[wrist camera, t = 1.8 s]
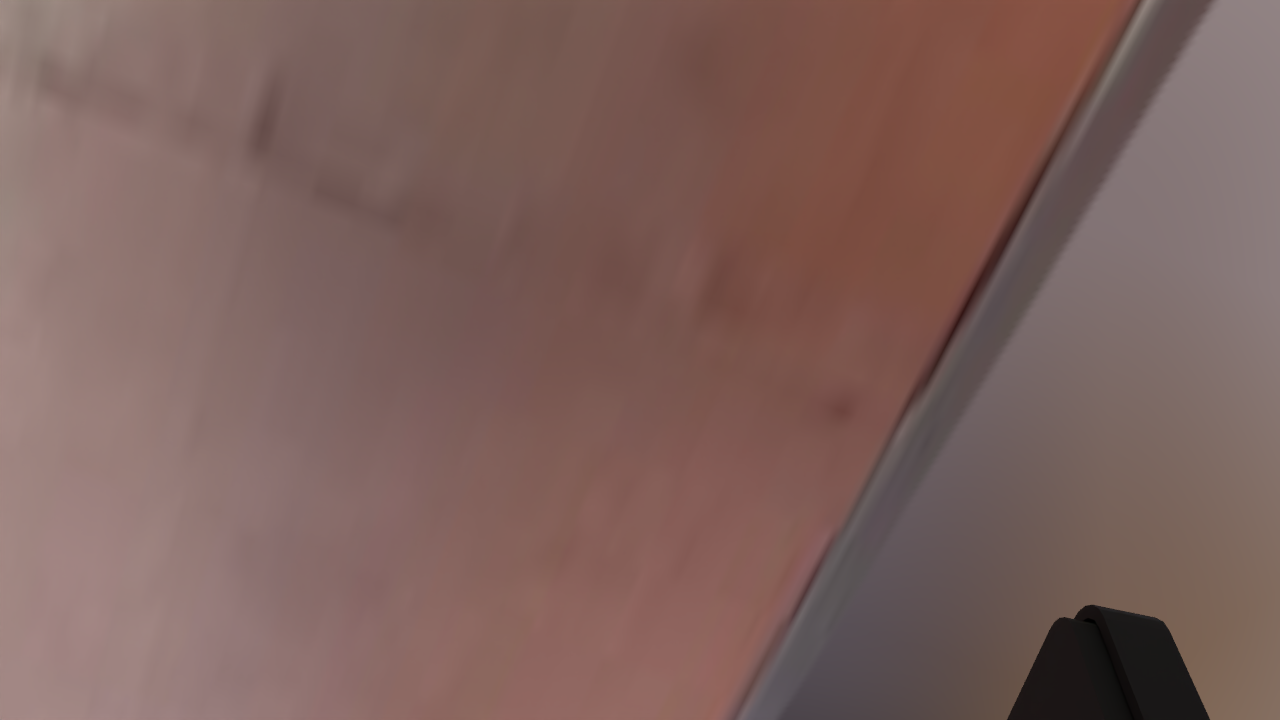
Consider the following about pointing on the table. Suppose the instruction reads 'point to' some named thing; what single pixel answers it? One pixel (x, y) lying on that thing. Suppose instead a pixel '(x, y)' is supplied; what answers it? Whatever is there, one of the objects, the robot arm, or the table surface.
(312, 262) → the table surface
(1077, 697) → the robot arm
